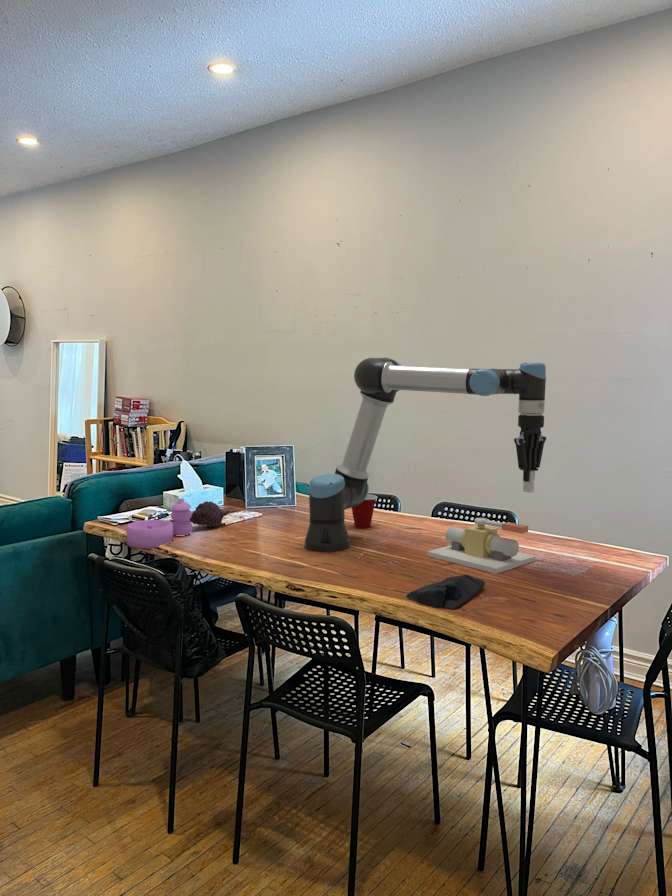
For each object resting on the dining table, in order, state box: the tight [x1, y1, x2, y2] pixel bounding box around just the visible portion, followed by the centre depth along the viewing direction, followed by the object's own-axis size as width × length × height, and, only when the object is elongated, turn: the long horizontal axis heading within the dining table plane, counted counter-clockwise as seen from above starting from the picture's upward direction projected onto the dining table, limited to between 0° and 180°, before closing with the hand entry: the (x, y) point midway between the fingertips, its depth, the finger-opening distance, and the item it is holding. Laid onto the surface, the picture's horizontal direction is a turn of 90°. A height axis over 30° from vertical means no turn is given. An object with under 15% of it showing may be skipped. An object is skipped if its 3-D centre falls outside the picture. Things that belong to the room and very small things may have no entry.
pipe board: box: [427, 525, 536, 574], centre depth 216 cm, size 20×26×11 cm
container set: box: [126, 498, 193, 549], centre depth 243 cm, size 25×15×13 cm, turn 141°
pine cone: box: [188, 500, 230, 528], centre depth 260 cm, size 18×10×10 cm, turn 136°
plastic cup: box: [351, 493, 378, 529], centre depth 261 cm, size 11×11×12 cm
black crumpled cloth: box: [406, 574, 486, 610], centre depth 182 cm, size 15×22×5 cm
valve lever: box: [474, 517, 529, 535], centre depth 210 cm, size 18×4×2 cm, turn 43°
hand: (528, 491), depth 212 cm, fingers closed
